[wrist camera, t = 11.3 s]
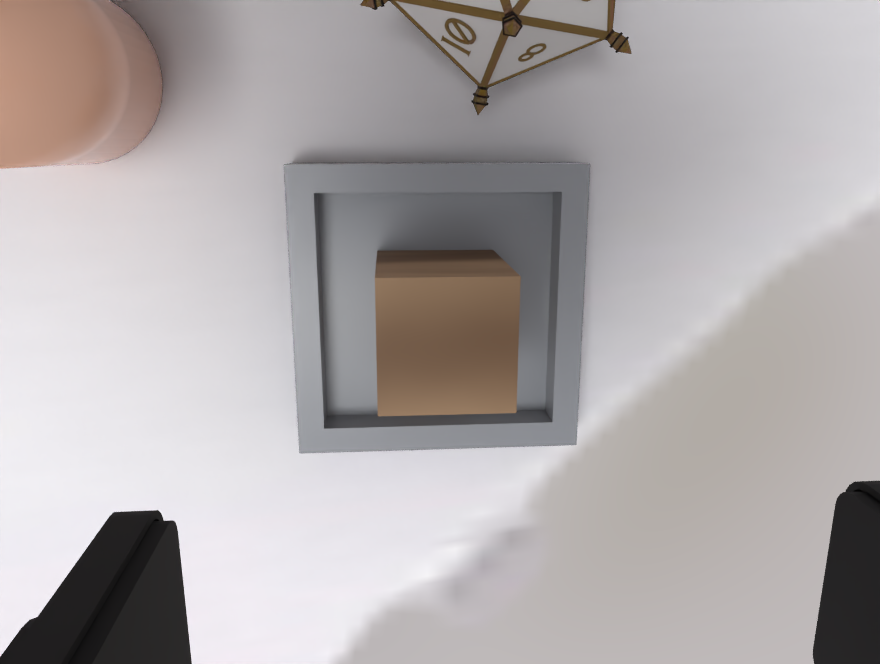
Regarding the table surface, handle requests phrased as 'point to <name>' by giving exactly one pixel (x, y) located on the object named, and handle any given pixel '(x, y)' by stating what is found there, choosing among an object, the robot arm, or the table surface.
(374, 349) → the tray
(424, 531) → the table surface
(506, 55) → the game die
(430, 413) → the walnut block
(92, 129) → the peach round domed cylinder
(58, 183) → the table surface
